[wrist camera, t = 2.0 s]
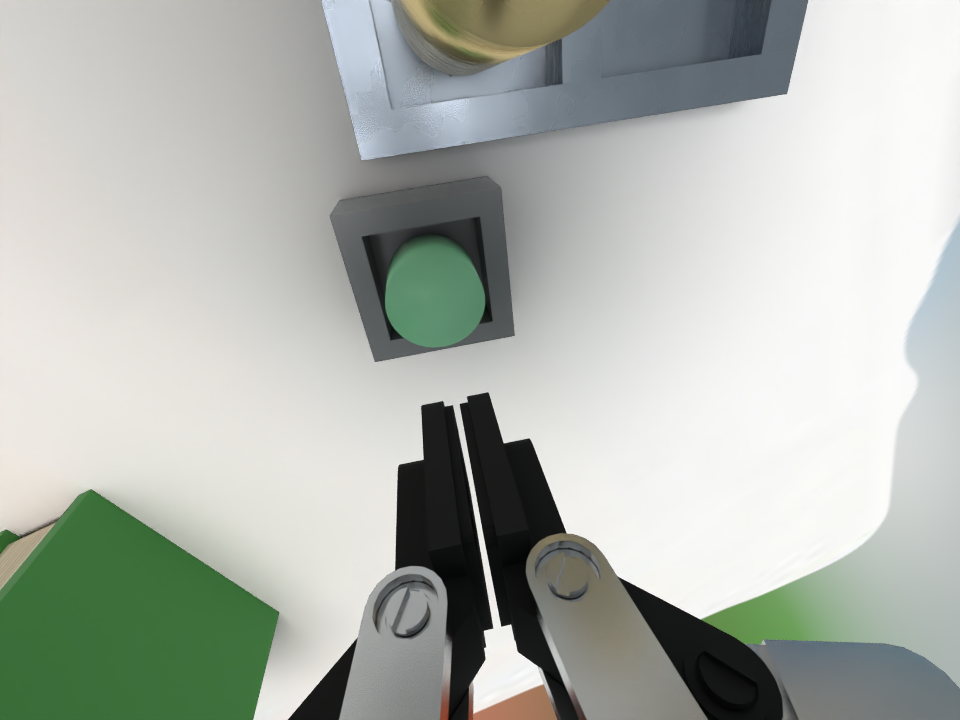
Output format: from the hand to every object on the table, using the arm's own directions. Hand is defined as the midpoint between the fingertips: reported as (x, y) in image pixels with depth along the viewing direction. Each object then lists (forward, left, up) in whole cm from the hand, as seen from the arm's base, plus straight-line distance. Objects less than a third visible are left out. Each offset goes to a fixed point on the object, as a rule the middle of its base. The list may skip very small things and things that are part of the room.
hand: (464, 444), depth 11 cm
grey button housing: (-1, 0, -13) cm, 13 cm away
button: (-1, 0, -11) cm, 11 cm away
